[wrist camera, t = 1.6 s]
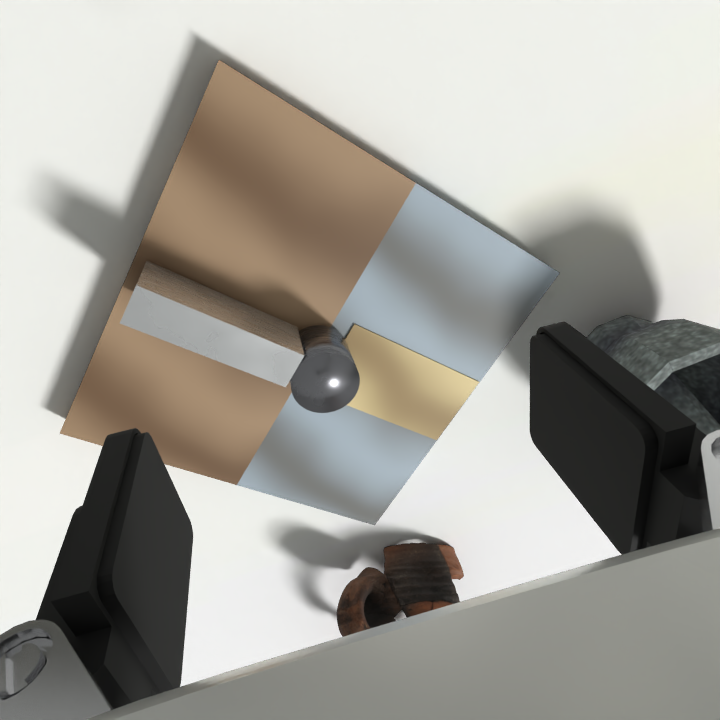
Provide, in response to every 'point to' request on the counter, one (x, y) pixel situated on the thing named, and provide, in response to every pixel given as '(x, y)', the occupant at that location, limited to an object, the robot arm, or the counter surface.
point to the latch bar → (245, 338)
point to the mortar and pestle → (670, 362)
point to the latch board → (308, 308)
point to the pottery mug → (400, 587)
